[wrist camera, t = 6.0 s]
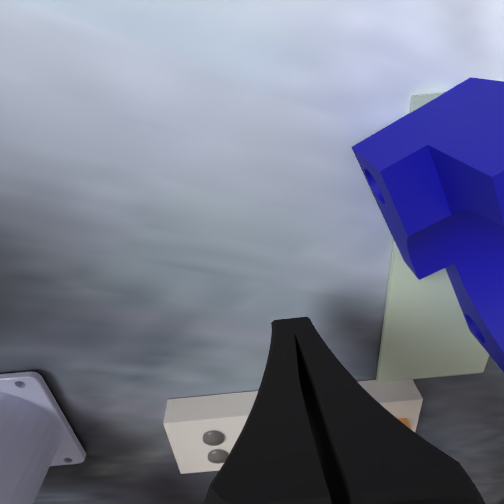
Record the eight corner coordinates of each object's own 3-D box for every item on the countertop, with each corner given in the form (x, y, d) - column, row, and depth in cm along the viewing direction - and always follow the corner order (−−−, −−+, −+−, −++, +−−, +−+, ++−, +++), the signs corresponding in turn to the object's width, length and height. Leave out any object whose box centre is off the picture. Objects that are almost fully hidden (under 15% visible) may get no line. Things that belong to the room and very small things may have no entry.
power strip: (183, 449, 23) (179, 484, 21) (167, 399, 20) (161, 433, 18) (400, 429, 23) (414, 462, 21) (410, 376, 20) (428, 408, 18)
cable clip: (351, 147, 13) (425, 210, 8) (470, 77, 12) (643, 99, 7) (441, 342, 19) (520, 456, 13) (529, 305, 18) (652, 413, 12)
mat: (375, 379, 20) (377, 382, 20) (411, 95, 13) (414, 96, 12) (481, 369, 20) (483, 372, 20) (580, 78, 13) (584, 79, 12)
